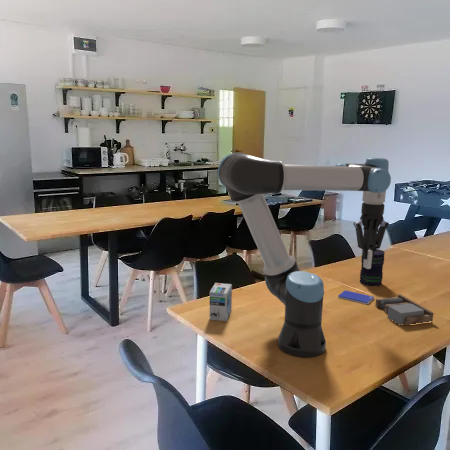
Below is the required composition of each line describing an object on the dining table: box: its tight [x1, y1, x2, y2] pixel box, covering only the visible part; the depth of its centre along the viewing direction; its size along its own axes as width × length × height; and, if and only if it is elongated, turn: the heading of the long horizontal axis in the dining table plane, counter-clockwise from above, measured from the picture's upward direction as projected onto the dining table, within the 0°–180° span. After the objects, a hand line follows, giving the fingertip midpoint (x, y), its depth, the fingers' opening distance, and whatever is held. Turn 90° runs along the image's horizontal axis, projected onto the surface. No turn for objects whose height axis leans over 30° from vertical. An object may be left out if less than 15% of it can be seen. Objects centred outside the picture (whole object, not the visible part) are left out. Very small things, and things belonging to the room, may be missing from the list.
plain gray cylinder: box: [379, 298, 404, 311], centre depth 179 cm, size 8×4×4 cm, turn 105°
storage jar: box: [359, 248, 385, 287], centre depth 207 cm, size 10×10×15 cm
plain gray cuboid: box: [386, 303, 424, 325], centre depth 168 cm, size 10×7×5 cm
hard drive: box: [337, 289, 375, 305], centre depth 189 cm, size 2×8×12 cm
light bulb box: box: [209, 282, 233, 322], centre depth 169 cm, size 11×7×11 cm, turn 170°
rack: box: [374, 293, 434, 326], centre depth 173 cm, size 11×19×4 cm, turn 15°
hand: (366, 267), depth 164 cm, fingers closed
